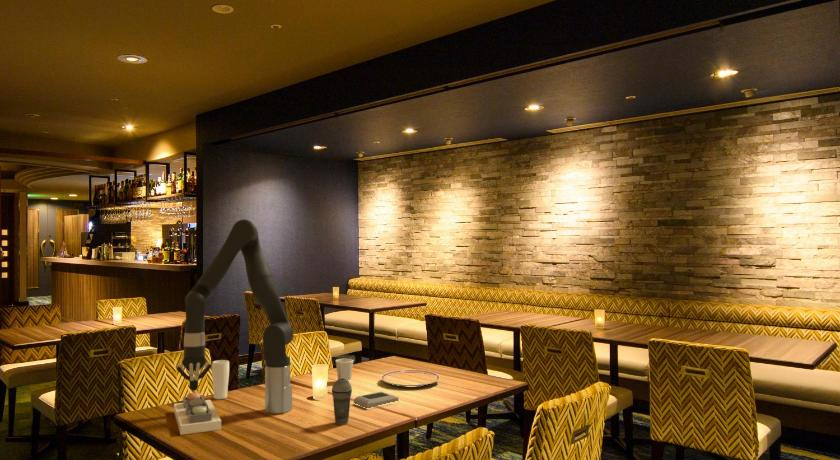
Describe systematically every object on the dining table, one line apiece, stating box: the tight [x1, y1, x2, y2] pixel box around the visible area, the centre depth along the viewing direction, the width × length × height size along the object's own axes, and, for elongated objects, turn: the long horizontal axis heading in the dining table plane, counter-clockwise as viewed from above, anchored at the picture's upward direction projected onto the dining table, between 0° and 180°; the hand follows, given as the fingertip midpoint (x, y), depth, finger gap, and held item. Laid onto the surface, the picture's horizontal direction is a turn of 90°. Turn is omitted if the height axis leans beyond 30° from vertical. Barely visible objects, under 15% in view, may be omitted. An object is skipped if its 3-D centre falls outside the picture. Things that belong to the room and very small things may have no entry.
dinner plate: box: [380, 369, 441, 386], centre depth 269 cm, size 27×27×3 cm
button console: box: [173, 394, 222, 436], centre depth 212 cm, size 30×13×6 cm, turn 26°
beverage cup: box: [331, 366, 353, 425], centre depth 209 cm, size 7×7×20 cm
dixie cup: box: [335, 358, 355, 380], centre depth 270 cm, size 8×8×10 cm
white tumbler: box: [211, 359, 230, 400], centre depth 242 cm, size 7×7×15 cm
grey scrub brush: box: [353, 391, 399, 408], centre depth 234 cm, size 10×4×15 cm
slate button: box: [190, 399, 203, 408], centre depth 212 cm, size 5×5×2 cm
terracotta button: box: [186, 392, 201, 401], centre depth 221 cm, size 5×5×2 cm
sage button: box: [193, 406, 207, 415], centre depth 203 cm, size 5×5×2 cm
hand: (193, 390), depth 221 cm, fingers closed
